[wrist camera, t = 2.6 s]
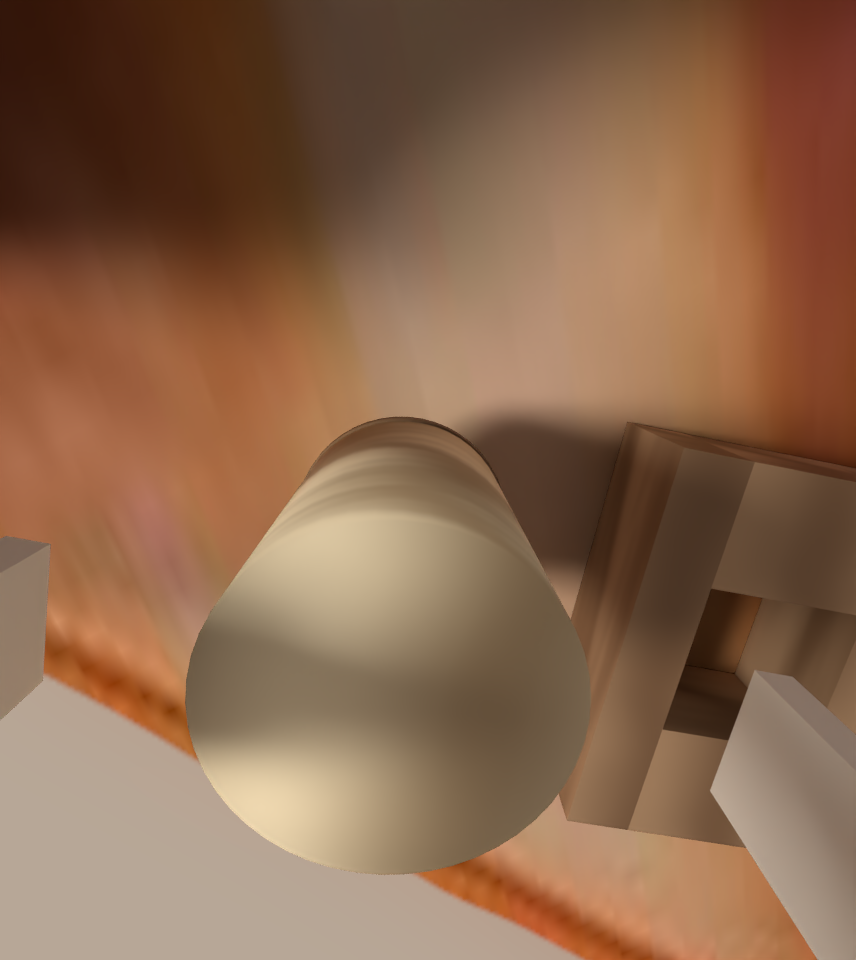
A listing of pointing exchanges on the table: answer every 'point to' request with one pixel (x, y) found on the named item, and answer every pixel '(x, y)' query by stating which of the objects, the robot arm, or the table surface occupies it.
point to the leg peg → (390, 663)
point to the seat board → (679, 607)
